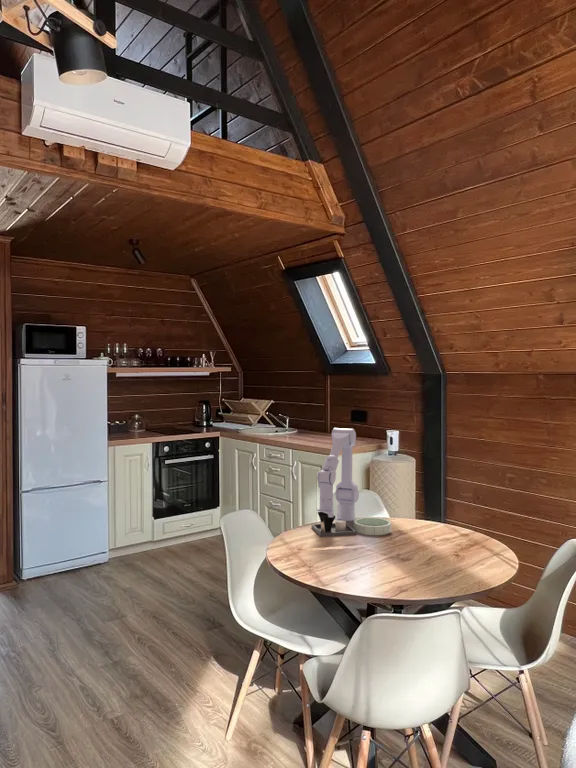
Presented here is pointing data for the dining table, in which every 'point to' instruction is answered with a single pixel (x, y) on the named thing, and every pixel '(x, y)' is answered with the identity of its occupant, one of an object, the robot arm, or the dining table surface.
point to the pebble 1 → (323, 527)
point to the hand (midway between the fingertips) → (326, 530)
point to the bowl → (372, 526)
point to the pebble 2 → (340, 526)
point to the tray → (333, 531)
